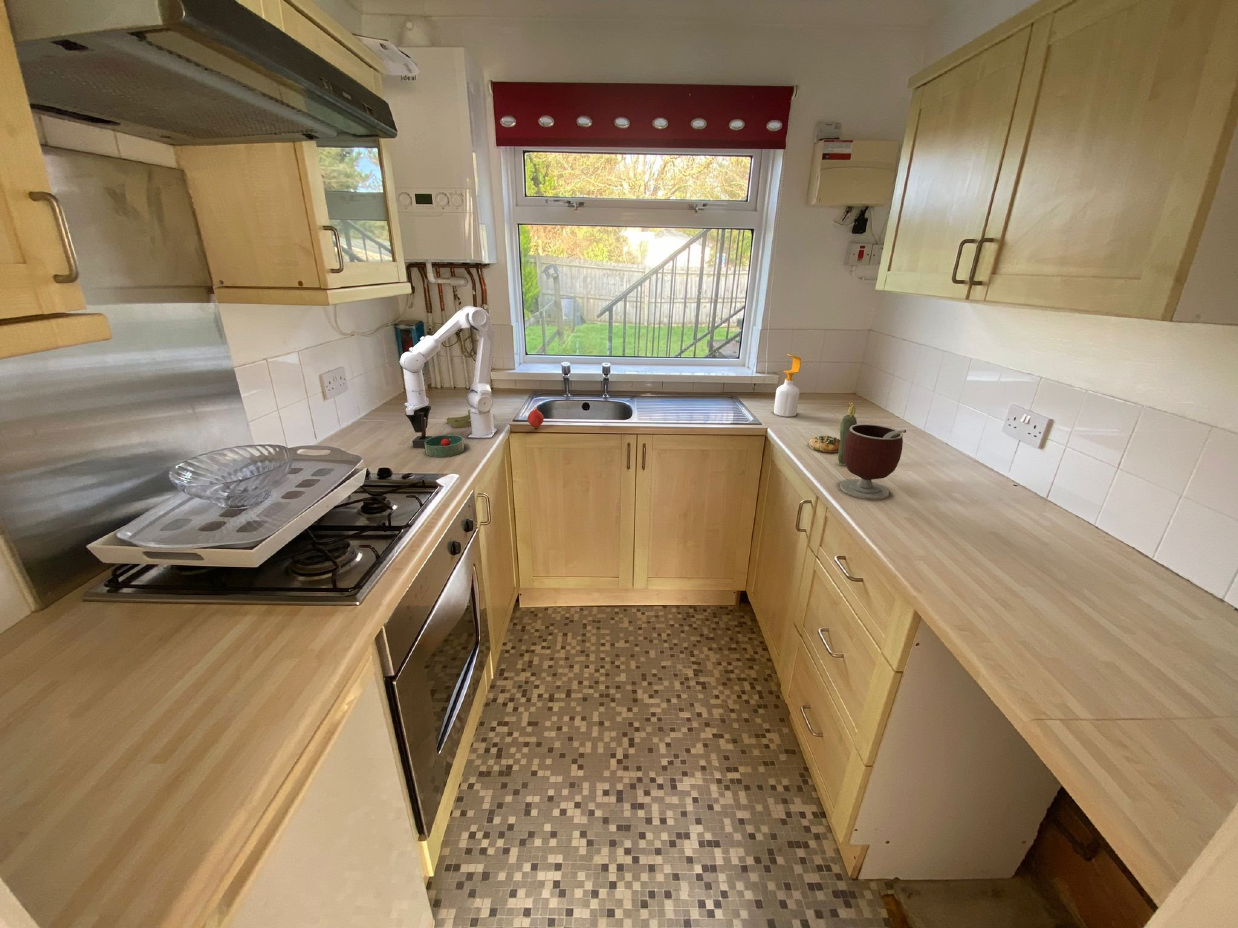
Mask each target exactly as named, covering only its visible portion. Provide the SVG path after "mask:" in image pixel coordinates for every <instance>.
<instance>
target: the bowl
mask: <svg viewBox="0 0 1238 928" xmlns="http://www.w3.org/2000/svg"><path fill="white" fill-rule="evenodd" d="M443 439H448V440H449V441H450V445H449V446H441V441H442V440H443ZM424 444H425V448H424V451H425V454H426V455H427V456H429V457H433V458H447V457H453V456H456V455H459V454H461V453H463V452H464V451H465V443H464V438H463V436H460V435H457V434H440V435H436V436H435V435H434V436H432V437H431V438H429V439H427V440H426V441H425V442H424Z"/></svg>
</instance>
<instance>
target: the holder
mask: <svg viewBox="0 0 1238 928" xmlns="http://www.w3.org/2000/svg"><path fill="white" fill-rule="evenodd" d="M431 437H433V435H426V439H421V435H416V437H415V438H414V439H412V441H411V443H412V448H413V449H425V444H424V442H425V441H426V440H427V439H429V438H431Z"/></svg>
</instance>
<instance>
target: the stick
mask: <svg viewBox="0 0 1238 928" xmlns="http://www.w3.org/2000/svg"><path fill="white" fill-rule="evenodd" d="M420 436H421V439H426V436H427V428H426V418H425V417H423V420H422V432H421V434H420Z"/></svg>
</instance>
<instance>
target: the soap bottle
mask: <svg viewBox="0 0 1238 928" xmlns="http://www.w3.org/2000/svg"><path fill="white" fill-rule="evenodd" d="M786 356H788V357H790V358H792V365H791V369H789V370H783V373H785V374H786V375H787V377H785V379H784V383H783V384H781V385H779V386H778V387H777V388H776V391H775V396H774V404H773V405H774V407H773V414H774V415H776V416H779V417H786V418H791V417H794V416H796V415H797V413H798V407H799V406H798V405H799V399H800V393H801V392H800V389H799V388H798V387H797V386H796V385H795V384H794V380H795V379H794V377H793V376H794V375H795V374H799V373H800V371H801V364H802V358H801V357H799V356H796V355H794V354H793V355H792V354H788V353H787V354H786Z"/></svg>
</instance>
